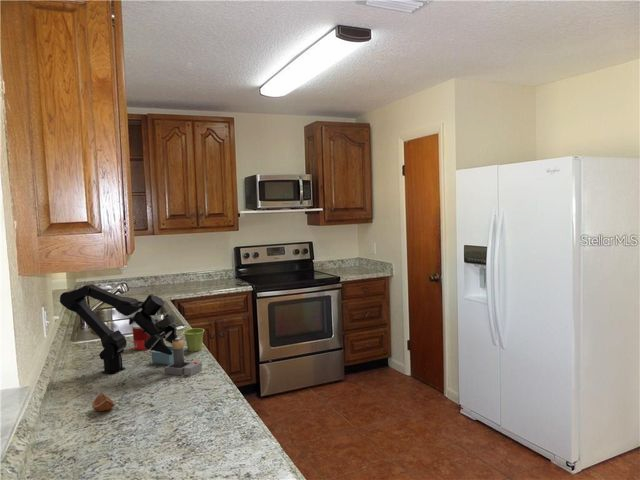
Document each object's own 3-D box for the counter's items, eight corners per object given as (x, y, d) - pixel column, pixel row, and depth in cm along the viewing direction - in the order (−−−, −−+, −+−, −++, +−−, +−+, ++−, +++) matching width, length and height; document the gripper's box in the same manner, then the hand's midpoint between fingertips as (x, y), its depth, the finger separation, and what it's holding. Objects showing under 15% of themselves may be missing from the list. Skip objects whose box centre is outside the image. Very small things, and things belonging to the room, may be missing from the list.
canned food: (148, 350, 217) (146, 326, 217) (131, 351, 218) (129, 327, 217) (154, 345, 225) (153, 322, 224) (138, 346, 225) (136, 323, 224)
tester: (190, 376, 182) (189, 366, 181) (164, 373, 186) (164, 364, 186) (202, 369, 189) (202, 360, 189) (177, 366, 193) (177, 357, 193)
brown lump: (117, 411, 153) (116, 396, 152) (95, 418, 149) (93, 402, 149) (112, 403, 160) (111, 389, 159) (90, 409, 156) (89, 394, 155)
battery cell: (180, 373, 186) (178, 339, 184) (172, 372, 187) (169, 339, 186) (187, 369, 189) (184, 336, 188) (178, 368, 191) (176, 336, 190)
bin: (169, 365, 196) (168, 353, 195) (152, 363, 199) (151, 351, 198) (183, 358, 204) (182, 346, 203) (166, 356, 207) (165, 345, 207)
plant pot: (208, 346, 220) (207, 328, 219) (201, 353, 210) (200, 333, 210) (188, 346, 221) (187, 328, 220) (181, 353, 211) (179, 334, 210)
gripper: (149, 314, 178) (179, 343, 177) (170, 303, 196) (198, 329, 196) (131, 335, 179) (161, 364, 179) (153, 323, 198) (181, 348, 197)
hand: (176, 350), depth 188 cm, fingers open, 9 cm apart
